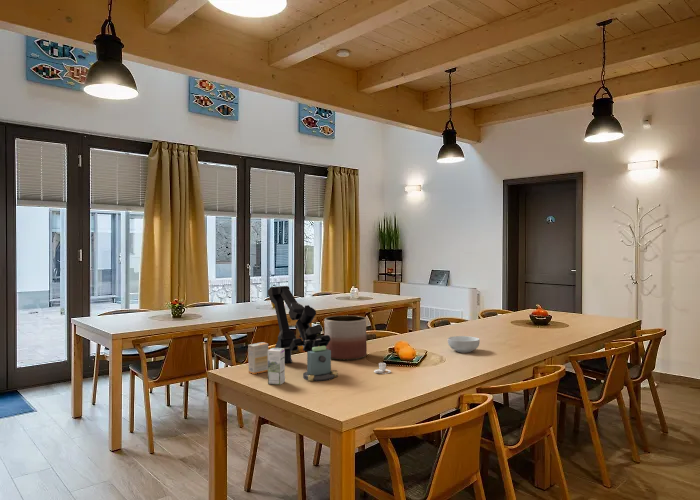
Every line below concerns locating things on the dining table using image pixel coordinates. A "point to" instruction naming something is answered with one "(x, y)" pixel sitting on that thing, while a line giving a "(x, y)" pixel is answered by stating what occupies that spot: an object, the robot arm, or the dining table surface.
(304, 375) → the base
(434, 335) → the dining table surface
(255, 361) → the supplement box
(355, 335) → the planter
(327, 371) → the grey upright slab
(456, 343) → the cereal bowl
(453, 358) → the dining table surface
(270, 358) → the syrup box
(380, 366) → the white lobed piece
